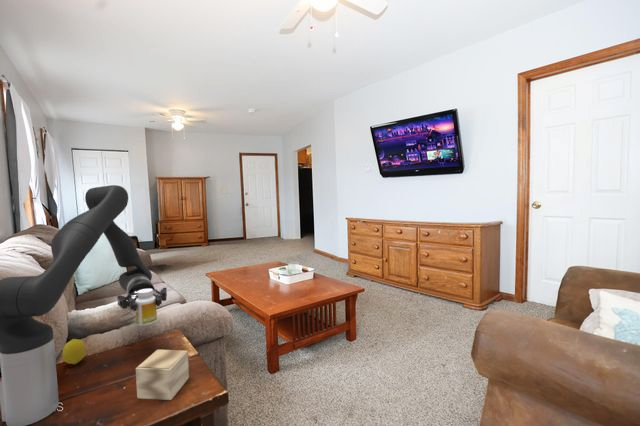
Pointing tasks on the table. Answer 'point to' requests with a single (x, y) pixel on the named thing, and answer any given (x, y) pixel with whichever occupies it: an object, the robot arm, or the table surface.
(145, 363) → the maple block
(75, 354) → the lemon
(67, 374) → the table surface
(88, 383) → the table surface
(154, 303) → the supplement bottle
